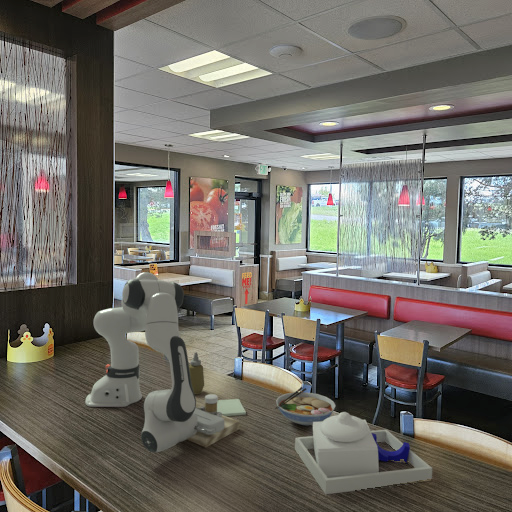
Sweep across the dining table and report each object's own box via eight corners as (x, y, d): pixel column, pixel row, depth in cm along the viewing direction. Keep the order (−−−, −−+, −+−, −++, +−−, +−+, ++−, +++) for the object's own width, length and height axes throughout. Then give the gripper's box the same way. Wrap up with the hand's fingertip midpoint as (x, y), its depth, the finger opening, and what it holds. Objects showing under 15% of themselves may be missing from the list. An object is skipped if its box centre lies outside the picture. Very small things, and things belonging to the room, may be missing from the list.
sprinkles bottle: (211, 428, 164) (212, 392, 163) (219, 433, 161) (220, 396, 160) (201, 432, 160) (202, 395, 160) (209, 437, 157) (210, 399, 156)
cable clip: (368, 456, 144) (372, 439, 143) (367, 449, 148) (371, 432, 148) (406, 467, 142) (410, 449, 141) (404, 460, 146) (408, 443, 146)
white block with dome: (319, 478, 133) (316, 427, 132) (313, 447, 151) (311, 401, 150) (379, 476, 132) (376, 424, 131) (366, 444, 150) (364, 399, 149)
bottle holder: (205, 447, 150) (206, 438, 150) (180, 436, 157) (180, 428, 157) (239, 428, 164) (239, 420, 164) (214, 419, 171) (214, 412, 171)
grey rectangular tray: (325, 494, 125) (326, 480, 125) (294, 449, 150) (295, 437, 150) (431, 481, 134) (432, 468, 133) (385, 440, 159) (386, 429, 159)
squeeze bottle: (182, 394, 197) (183, 353, 196) (191, 388, 204) (192, 349, 203) (198, 397, 194) (199, 356, 193) (207, 391, 201) (208, 351, 200)
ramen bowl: (319, 442, 156) (319, 419, 155) (262, 425, 168) (263, 404, 167) (344, 417, 177) (345, 397, 177) (293, 404, 189) (294, 385, 189)
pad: (210, 417, 174) (210, 414, 174) (205, 403, 187) (205, 401, 187) (245, 414, 177) (246, 412, 177) (238, 401, 191) (238, 398, 190)
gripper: (208, 424, 143) (235, 410, 155) (164, 407, 155) (192, 396, 166) (208, 443, 144) (235, 428, 155) (164, 425, 156) (191, 412, 167)
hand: (212, 411), depth 161 cm, fingers open, 6 cm apart
